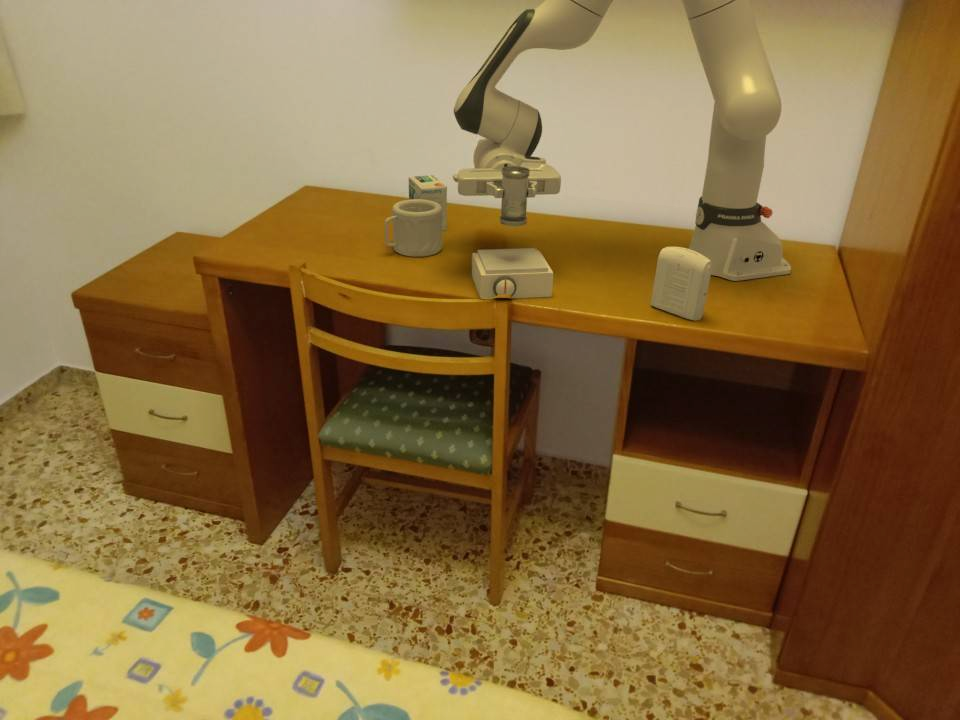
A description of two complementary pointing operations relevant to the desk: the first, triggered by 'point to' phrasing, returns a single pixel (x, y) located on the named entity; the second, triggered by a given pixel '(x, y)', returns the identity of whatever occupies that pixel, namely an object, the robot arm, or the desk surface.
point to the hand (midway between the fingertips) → (515, 193)
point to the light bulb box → (430, 192)
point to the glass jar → (514, 195)
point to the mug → (416, 228)
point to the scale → (512, 273)
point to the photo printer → (681, 282)
